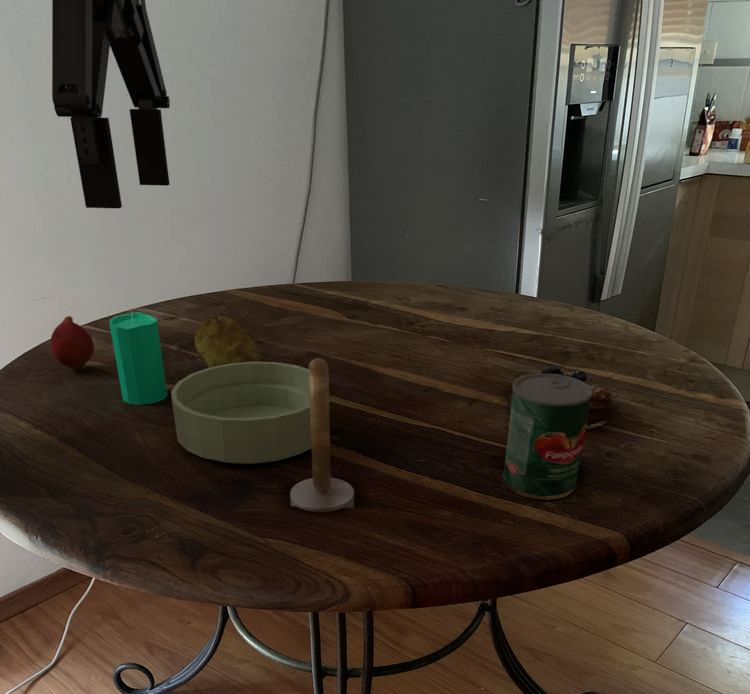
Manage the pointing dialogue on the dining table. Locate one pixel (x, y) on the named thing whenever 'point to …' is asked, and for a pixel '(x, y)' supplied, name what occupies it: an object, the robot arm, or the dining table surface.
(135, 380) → the candle
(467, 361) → the dining table surface
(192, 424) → the bowl
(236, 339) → the potato
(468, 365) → the dining table surface
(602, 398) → the pastry
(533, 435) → the canned tomato
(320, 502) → the paper towel holder
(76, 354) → the onion
